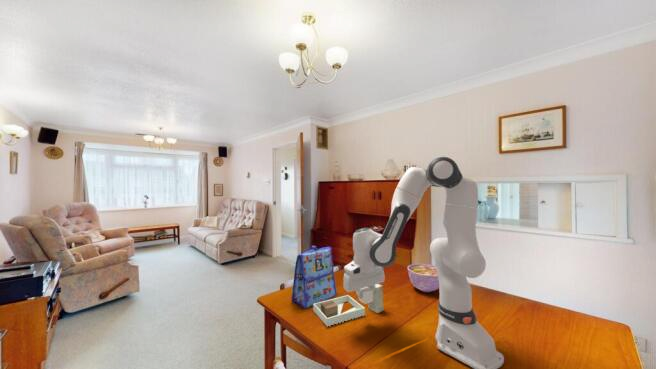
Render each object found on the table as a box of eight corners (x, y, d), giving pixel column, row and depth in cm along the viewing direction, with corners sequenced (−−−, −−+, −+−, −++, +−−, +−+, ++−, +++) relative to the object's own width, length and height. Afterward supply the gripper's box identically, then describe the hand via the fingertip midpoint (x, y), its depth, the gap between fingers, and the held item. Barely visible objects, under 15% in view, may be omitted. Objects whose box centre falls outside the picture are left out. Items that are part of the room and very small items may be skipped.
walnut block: (337, 316, 112) (337, 305, 112) (326, 319, 109) (326, 308, 109) (331, 310, 117) (331, 299, 117) (320, 313, 115) (320, 302, 115)
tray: (364, 315, 114) (364, 307, 114) (326, 327, 105) (326, 318, 105) (348, 301, 127) (348, 294, 127) (313, 311, 118) (313, 303, 118)
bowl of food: (401, 288, 142) (400, 269, 142) (417, 279, 155) (417, 261, 155) (435, 300, 127) (434, 278, 127) (450, 289, 141) (450, 269, 141)
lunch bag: (305, 310, 119) (305, 251, 119) (290, 300, 129) (290, 246, 129) (337, 296, 133) (337, 244, 133) (322, 288, 144) (321, 240, 144)
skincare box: (383, 310, 118) (383, 285, 118) (377, 313, 115) (377, 288, 115) (373, 305, 123) (373, 281, 123) (367, 308, 120) (367, 283, 120)
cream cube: (373, 301, 106) (372, 290, 106) (364, 304, 104) (364, 292, 104) (366, 297, 110) (366, 286, 110) (358, 299, 108) (358, 288, 108)
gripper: (378, 258, 114) (379, 288, 114) (340, 267, 105) (342, 299, 105) (387, 262, 109) (388, 293, 109) (348, 272, 100) (350, 305, 100)
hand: (365, 296), depth 107 cm, fingers closed on cream cube, 4 cm apart
